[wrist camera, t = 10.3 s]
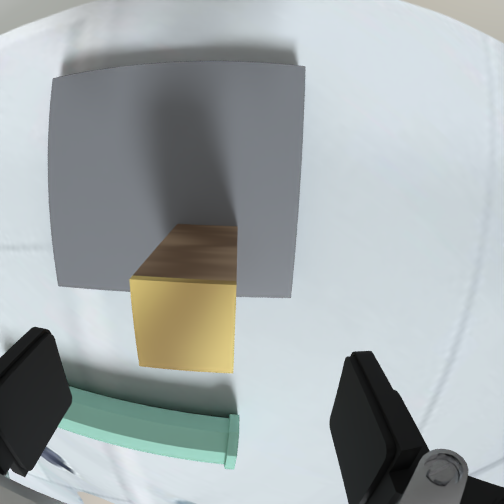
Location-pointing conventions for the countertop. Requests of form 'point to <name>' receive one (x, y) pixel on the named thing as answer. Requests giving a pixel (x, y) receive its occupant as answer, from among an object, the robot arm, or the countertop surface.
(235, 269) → the block
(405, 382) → the countertop surface
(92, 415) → the container
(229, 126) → the board
